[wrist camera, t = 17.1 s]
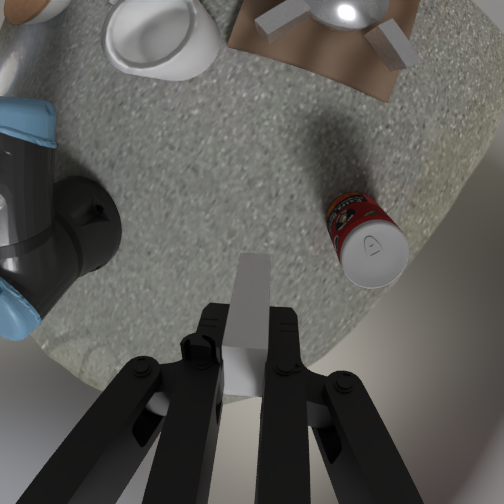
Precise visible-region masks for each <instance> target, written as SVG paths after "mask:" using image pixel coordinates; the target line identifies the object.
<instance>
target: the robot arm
mask: <svg viewBox="0 0 504 504" xmlns="http://www.w3.org/2000/svg"><path fill="white" fill-rule="evenodd" d="M55 148H57V142H56V110H55V108H54V106H53V105H52V104H51V103H50V102H49V101H46V100H42V99H35V98H23V97H5V96H0V336H1V337H3V338H5V339H8V340H12V341H19V340H22V339H24V338H25V337H27V336H28V335H29V334H30V333H31V332H32V330H33V329H34V328H35V327H37V326H39V325H40V324H41V321H42V320H43V319H44V317H45V316H46V315H47V314H48V312H49V311H50V310H51V309H52V308H53V306H54V305H55V304H56V303H57V301H58V300H59V299H60V298H61V297H62V295H63V294H64V293H65V292H66V291H67V290H68V288H69V287H70V286H71V285H72V284H73V283H74V282H75V281H76V279H77V278H78V277H81V276H83V275H85V274H87V273H88V272H93V271H96V270H98V269H100V268H102V267H103V266H104V265H106V264H107V263H108V262H109V260H110V259H111V258H112V257H113V256H114V255H115V253H116V252H117V250H118V248H119V245H120V241H121V234H122V229H121V221H120V217H119V214H118V211H117V208H116V206H115V204H114V202H113V201H112V199H111V198H110V196H109V195H108V194H107V192H106V191H105V190H104V189H103V188H102V187H101V186H99V185H98V184H97V183H95V182H94V181H92V180H90V179H88V178H85V177H80V176H71V177H67V178H64V179H62V180H60V181H58V182H56V183H54V161H55ZM270 265H271V254H255V253H241V254H240V259H239V264H238V269H237V273H236V278H235V283H234V288H233V293H232V298H231V303H230V304H220V303H209V304H208V305H207V306H206V307H205V308H204V309H203V311H202V314H201V318H200V321H199V324H198V327H197V331H196V333H192V334H189V335H187V336H186V337H184V338H183V340H182V341H181V343H180V346H181V352H182V358H183V359H182V360H180V361H177V362H174V363H167V364H159V363H158V362H157V360H155V359H154V358H152V357H148V356H138V357H135V358H133V359H131V360H130V361H128V362H127V363H126V364H125V366H124V367H123V368H122V369H121V370H120V372H119V373H118V374H117V375H116V376H115V378H114V379H113V380H112V381H111V383H110V384H109V385H108V386H107V387H106V389H105V390H104V391H103V392H102V394H101V395H100V396H99V397H98V399H97V400H96V401H95V402H94V404H93V405H92V406H91V407H90V408H89V410H88V411H87V412H86V413H85V415H84V416H83V417H82V419H81V420H80V421H79V422H78V423H77V425H76V426H75V427H74V428H73V430H72V431H71V432H70V433H69V435H68V436H67V437H66V438H65V440H64V441H63V442H62V444H61V445H60V446H59V447H58V449H57V450H56V452H54V454H53V455H52V456H51V458H50V459H49V460H48V461H47V463H46V464H45V465H44V467H43V468H42V469H41V471H40V472H39V473H38V475H37V476H36V477H35V478H34V480H33V481H32V483H31V484H30V485H29V486H28V488H27V489H26V490H25V492H24V493H23V494H22V496H21V497H20V499H19V500H18V501H17V502H16V504H115V503H116V502H117V500H118V499H119V497H120V495H121V494H122V492H123V490H124V489H125V488H126V486H127V484H128V483H129V481H130V479H131V478H132V476H133V475H134V473H135V472H136V470H137V468H138V467H139V465H140V464H141V462H142V461H143V459H144V457H145V456H146V454H147V453H148V451H149V449H150V448H151V446H152V445H153V443H154V441H155V440H156V438H157V437H158V435H159V433H160V432H161V435H160V438H159V442H158V445H157V449H156V452H155V456H154V460H153V464H152V467H151V471H150V474H149V478H148V482H147V486H146V489H145V493H144V497H143V501H142V504H208V497H209V489H210V483H211V477H212V471H213V464H214V458H215V451H216V444H217V438H218V432H219V426H220V419H221V413H222V406H223V404H222V397H223V391H224V394H230V395H241V396H255V397H262V404H261V413H260V434H259V448H258V462H257V476H256V489H255V503H254V504H311V501H310V499H311V498H310V463H309V440H308V426H311V428H312V430H313V433H314V436H315V439H316V441H317V444H318V447H319V450H320V452H321V455H322V458H323V461H324V464H325V467H326V469H327V472H328V475H329V477H330V480H331V483H332V486H333V489H334V491H335V494H336V497H337V500H338V502H339V504H424V503H423V501H422V499H421V497H420V495H419V492H418V490H417V488H416V486H415V484H414V482H413V480H412V478H411V476H410V474H409V472H408V470H407V468H406V466H405V464H404V462H403V460H402V458H401V456H400V454H399V452H398V450H397V448H396V446H395V444H394V442H393V440H392V438H391V436H390V435H389V432H388V430H387V429H386V427H385V425H384V423H383V421H382V419H381V417H380V415H379V413H378V411H377V409H376V407H375V406H374V404H373V402H372V400H371V398H370V396H369V394H368V392H367V391H366V389H365V387H364V385H363V383H362V381H361V380H360V379H359V377H357V376H356V375H355V374H353V373H351V372H348V371H336V372H333V373H331V374H330V375H329V376H328V377H327V376H324V375H320V374H317V373H314V372H312V371H310V370H308V369H307V368H306V367H305V366H304V365H303V363H302V361H301V357H300V344H299V333H298V319H297V314H296V313H295V311H294V310H293V309H292V308H290V307H272V306H269V302H270ZM161 430H162V431H161Z"/></svg>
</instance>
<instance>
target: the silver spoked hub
mask: <svg viewBox="0 0 504 504" xmlns="http://www.w3.org/2000/svg"><path fill="white" fill-rule="evenodd" d="M389 2H390V0H286V1H284V2H283V3H281V4H279V5H277V6H276V7H274V8H272V9H271V10H269V11H267V12H266V13H264V14H263V15H261V16H259V17H258V18H256V19H255V25H256V29H257V32H258V33H259V34H260V35H261V37H262V38H263V39H264V40H265V41H266V42H267V43H268V44H271V43H272V42H274V41H275V40H277V39H278V38H280V37H282V36H283V35H285V34H286V33H288V32H290V31H291V30H293V29H295V28H296V27H298V26H300V25H301V24H303V23H305V22H306V21H307V19H308V17H309V18H310V19H311V20H312V21H314V22H315V23H317V24H319V25H321V26H323V27H325V28H327V29H330V30H334V31H338V32H358V31H361V30H364V29H367V28H369V27H370V26H372V25H373V24H375V23H376V22H377V21H379V20H380V19H381V18H382V17H383V16H384V15H385V13H386V12H387V10H388V7H389ZM364 36H365V38H366V39H367V40H368V42H369V43H370V44H371V46H372V47H373V48H374V50H375V51H376V53H377V54H378V55H379V57H380V58H381V60H382V61H383V63H384V64H385V66H386V67H387V69H388V70H389V72H391V71H396V70H401V69H406V68H409V67H410V66H412V65H414V64H416V63H418V62H419V61H421V59H420V57H419V56H418V54H417V52H416V51H415V49H414V48H413V46H412V45H411V43H410V42H409V40H408V39H407V37H406V36H405V35H404V33H403V32H402V30H401V29H400V27H399V26H398V25H397V23H396V22H395V21H394V19H393V18H392V19H390V20H388V21H386V22H384V23H382V24H380V25H378V26H376V27H375V28H373V29H372V30H370V31H369V32H368V33H366V34H365V35H364Z"/></svg>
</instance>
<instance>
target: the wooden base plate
mask: <svg viewBox="0 0 504 504" xmlns="http://www.w3.org/2000/svg"><path fill="white" fill-rule="evenodd" d="M284 1H286V0H244V1H243V3H242V6H241V9H240V11H239V14H238V16H237V19H236V22H235V25H234V27H233V30H232V33H231V36H230V38H229V41H228V44H227V46H228V47H229V48H233V49H237V50H241V51H245V52H249V53H253V54H256V55H260V56H264V57H267V58H271V59H274V60H277V61H281V62H284V63H287V64H290V65H293V66H296V67H299V68H302V69H305V70H308V71H311V72H313V73H316V74H319V75H321V76H324V77H327V78H329V79H332V80H334V81H337V82H339V83H342V84H344V85H347V86H349V87H351V88H354V89H356V90H358V91H360V92H363V93H365V94H367V95H369V96H371V97H374V98H376V99H378V100H380V101H382V102H384V103H388V102H389V99H390V96H391V93H392V90H393V88H394V85H395V82H396V79H397V76H398V73H399V70H396V71H391V72H389V70H388V69H387V67H386V66H385V64H384V63H383V61H382V60H381V58H380V57H379V55H378V54H377V53H376V51H375V50H374V48H373V47H372V46H371V44H370V43H369V42H368V40H367V39H366V38H365V36H364V35H365V34H366V33H368V32H369V31H370V30H372V29H373V28H375V27H376V26H378V25H380V24H382V23H384V22H386V21H388V20H390V19H392V18H393V19H394V21H395V22H396V23H397V25H398V26H399V27H400V29H401V30H402V32H403V33H404V35H405V36H406V37H407V39H408V40H409V38H410V34H411V31H412V28H413V24H414V21H415V17H416V13H417V10H418V6H419V2H420V0H390V2H389V7H388V10H387V12H386V13H385V15H384V16H383V17H382V18H381V19H380V20H379V21H377V22H376V23H375V24H373V25H372V26H370V27H369V28H367V29H364V30H361V31H358V32H338V31H334V30H330V29H327V28H325V27H323V26H321V25H319V24H317V23H315V22H314V21H312V20H311V19H310V18H309V17H308V19H307V21H306V22H305V23H303V24H301V25H300V26H298V27H296V28H295V29H293V30H291V31H290V32H288V33H286V34H285V35H283V36H282V37H280V38H278V39H277V40H275V41H274V42H272V43H271V44H268V43H267V42H266V41H265V40H264V39H263V38H262V37H261V35H260V34H259V33H258V32H257V29H256V25H255V19H256V18H258V17H259V16H261V15H263V14H264V13H266V12H267V11H269V10H271V9H272V8H274V7H276V6H277V5H279V4H281V3H283V2H284Z"/></svg>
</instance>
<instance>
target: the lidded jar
mask: <svg viewBox="0 0 504 504" xmlns="http://www.w3.org/2000/svg"><path fill="white" fill-rule="evenodd" d="M71 1H72V0H5V5H4V15H5V18H6V20H7V21H8V22H9V23H11V24H17V25H20V24H24V25H34V24H40V23H43V22H46V21H49V20H51V19H52V18H54V17H56V16H57V15H58V14H60V13H61V12H62V11H63V10H65V9H66V8H67V7H68V5H69V4H70V3H71Z"/></svg>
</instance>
